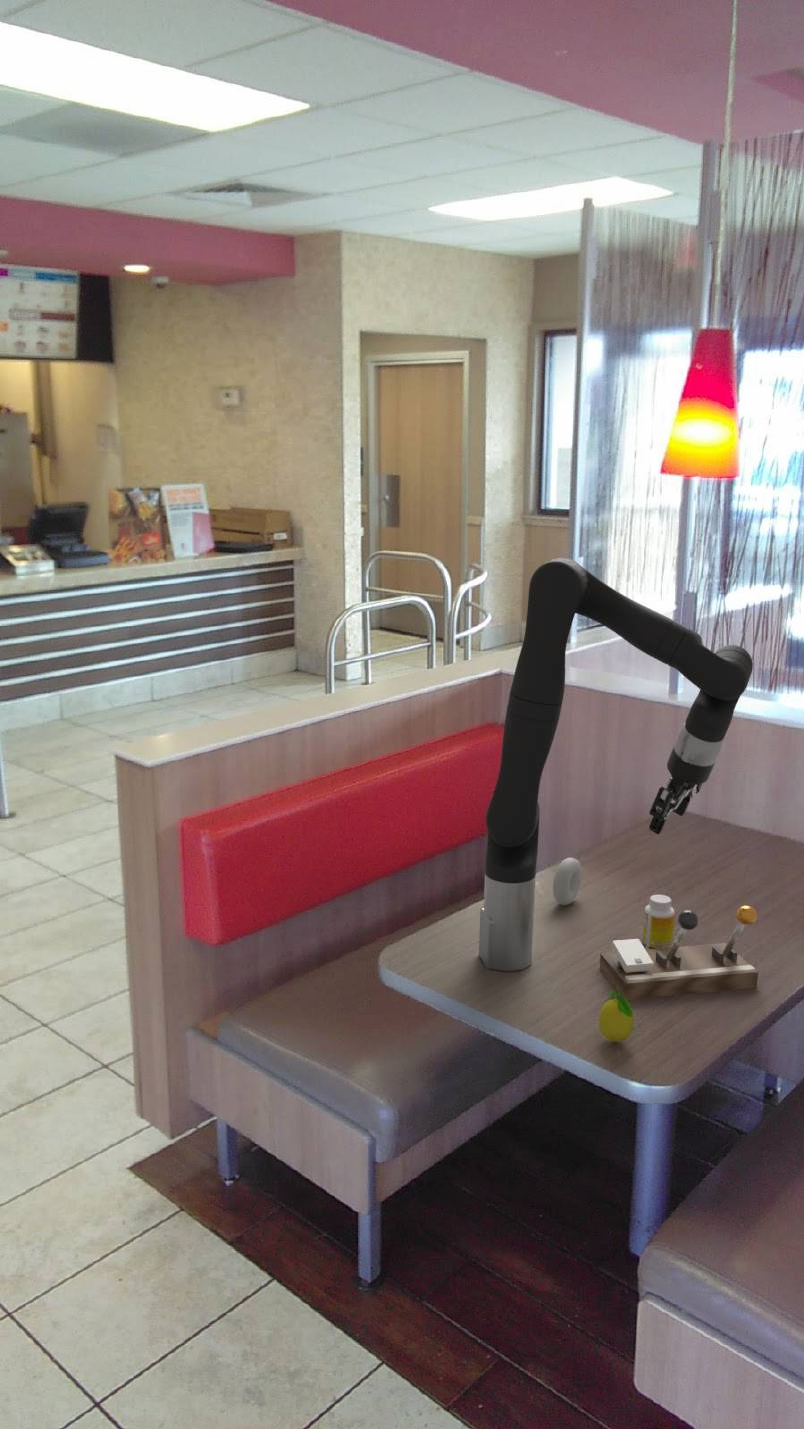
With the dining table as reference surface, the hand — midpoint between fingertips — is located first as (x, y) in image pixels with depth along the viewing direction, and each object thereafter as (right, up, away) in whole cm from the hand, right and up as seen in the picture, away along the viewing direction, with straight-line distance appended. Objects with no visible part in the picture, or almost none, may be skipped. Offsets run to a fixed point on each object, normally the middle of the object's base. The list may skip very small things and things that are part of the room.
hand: (666, 822), depth 204 cm
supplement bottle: (+1, -25, +11) cm, 28 cm away
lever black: (0, -25, -2) cm, 25 cm away
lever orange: (+11, -24, +1) cm, 27 cm away
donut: (-14, -20, +31) cm, 40 cm away
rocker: (-7, -23, -3) cm, 25 cm away
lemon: (-13, -34, -22) cm, 42 cm away
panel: (+2, -28, 0) cm, 28 cm away
